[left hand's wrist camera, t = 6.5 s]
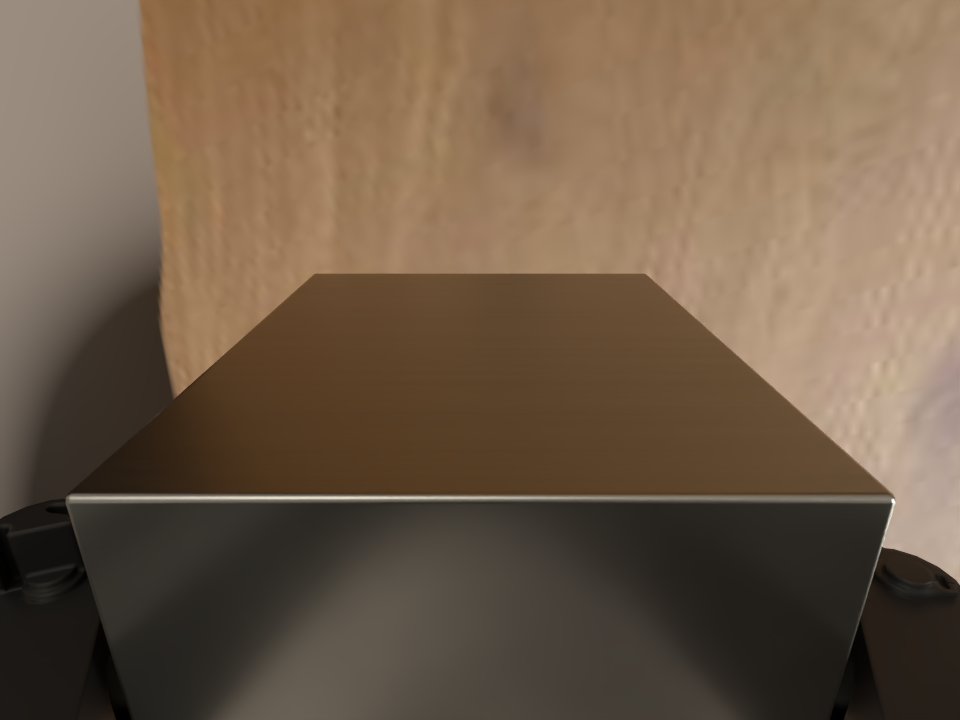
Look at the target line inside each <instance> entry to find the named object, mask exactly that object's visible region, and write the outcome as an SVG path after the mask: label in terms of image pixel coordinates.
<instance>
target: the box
mask: <svg viewBox="0 0 960 720" xmlns="http://www.w3.org/2000/svg"><path fill="white" fill-rule="evenodd" d="M894 505H895V497H894V495H893V494H892V493H891V492H890V491H889V490H888V489H887V488H885V487H884V486H883V485H882V484H881V483H880V482H879V481H878V480H877V479H875V478H874V477H873V476H872V475H871V474H870V473H869V472H868V471H866V470H865V469H864V468H863V467H862V466H861V465H860V464H859V463H857V462H856V461H855V460H854V459H853V458H852V457H851V456H850V455H848V454H847V453H846V452H845V451H844V450H843V449H842V448H841V447H839V446H838V445H837V444H836V443H835V442H834V441H833V440H832V439H830V438H829V437H828V436H827V435H826V434H825V433H824V432H823V431H821V430H820V429H819V428H818V427H817V426H816V425H815V424H814V423H813V422H811V421H810V420H809V419H808V418H807V417H806V416H805V415H804V414H802V413H801V412H800V411H799V410H798V409H797V408H796V407H795V406H793V405H792V404H791V403H790V402H789V401H788V400H787V399H786V398H784V397H783V396H782V395H781V394H780V393H779V392H778V391H777V390H775V389H774V388H773V387H772V386H771V385H770V384H769V383H768V382H766V381H765V380H764V379H763V378H762V377H761V376H760V375H759V374H757V373H756V372H755V371H754V370H753V369H752V368H751V367H750V366H748V365H747V364H746V363H745V362H744V361H743V360H742V359H741V358H740V357H738V356H737V355H736V354H735V353H734V352H733V351H732V350H731V349H729V348H728V347H727V346H726V345H725V344H724V343H723V342H722V341H720V340H719V339H718V338H717V337H716V336H715V335H714V334H713V333H711V332H710V331H709V330H708V329H707V328H706V327H705V326H704V325H702V324H701V323H700V322H699V321H698V320H697V319H696V318H695V317H693V316H692V315H691V314H690V313H689V312H688V311H687V310H686V309H684V308H683V307H682V306H681V305H680V304H679V303H678V302H677V301H675V300H674V299H673V298H672V297H671V296H670V295H669V294H668V293H667V292H665V291H664V290H663V289H662V288H661V287H660V286H659V285H658V284H656V283H655V282H654V281H653V280H652V279H651V278H650V277H649V276H647V275H646V274H314V275H313V276H312V277H311V278H310V279H308V280H307V281H306V282H305V283H304V284H303V285H302V286H301V287H299V288H298V289H297V290H296V291H295V292H294V293H293V294H292V295H290V296H289V297H288V298H287V299H286V300H285V301H284V302H283V303H282V304H280V305H279V306H278V307H277V308H276V309H275V310H274V311H273V312H271V313H270V314H269V315H268V316H267V317H266V318H265V319H264V320H262V321H261V322H260V323H259V324H258V325H257V326H256V327H255V328H253V329H252V330H251V331H250V332H249V333H248V334H247V335H246V336H245V337H243V338H242V339H241V340H240V341H239V342H238V343H237V344H236V345H234V346H233V347H232V348H231V349H230V350H229V351H228V352H227V353H225V354H224V355H223V356H222V357H221V358H220V359H219V360H218V361H217V362H215V363H214V364H213V365H212V366H211V367H210V368H209V369H208V370H206V371H205V372H204V373H203V374H202V375H201V376H200V377H199V378H197V379H196V380H195V381H194V382H193V383H192V384H191V385H190V386H188V387H187V388H186V389H185V390H184V391H183V392H182V393H181V394H180V395H178V396H177V397H176V398H175V399H174V400H173V401H172V402H171V403H169V404H168V405H167V406H166V407H165V408H164V409H163V410H162V411H160V412H159V413H158V414H157V415H156V416H155V417H154V418H153V419H151V420H150V421H149V422H148V423H147V424H146V425H145V426H144V427H143V428H141V429H140V430H139V431H138V432H137V433H136V434H135V435H134V436H132V437H131V438H130V439H129V440H128V441H127V442H126V443H125V444H123V445H122V446H121V447H120V448H119V449H118V450H117V451H116V452H114V453H113V454H112V455H111V456H110V457H109V458H108V459H107V460H106V461H104V462H103V463H102V464H101V465H100V466H99V467H98V468H97V469H95V470H94V471H93V472H92V473H91V474H90V475H89V476H88V477H87V478H85V479H84V480H83V481H82V482H81V483H80V484H79V485H78V486H76V487H75V488H74V489H73V490H72V491H71V492H70V493H69V494H68V495H67V497H66V506H67V509H68V512H69V516H70V519H71V522H72V526H73V529H74V532H75V536H76V539H77V542H78V546H79V549H80V552H81V556H82V559H83V562H84V565H85V569H86V572H87V575H88V579H89V582H90V585H91V589H92V592H93V595H94V599H95V602H96V605H97V609H98V612H99V615H100V619H101V622H102V625H103V629H104V632H105V635H106V638H107V642H108V645H109V648H110V652H111V655H112V658H113V662H114V665H115V668H116V672H117V675H118V678H119V682H120V685H121V688H122V692H123V695H124V698H125V702H126V705H127V708H128V711H129V715H130V718H131V720H830V717H831V714H832V710H833V707H834V704H835V700H836V697H837V694H838V691H839V687H840V684H841V681H842V677H843V674H844V671H845V667H846V664H847V661H848V657H849V654H850V651H851V648H852V644H853V641H854V638H855V634H856V631H857V628H858V624H859V621H860V618H861V614H862V611H863V608H864V605H865V601H866V598H867V595H868V591H869V588H870V585H871V581H872V578H873V575H874V571H875V568H876V565H877V562H878V558H879V555H880V552H881V548H882V545H883V542H884V538H885V535H886V532H887V528H888V525H889V522H890V518H891V515H892V512H893V509H894Z"/></svg>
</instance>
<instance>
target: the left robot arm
mask: <svg viewBox="0 0 960 720" xmlns="http://www.w3.org/2000/svg"><path fill="white" fill-rule="evenodd" d="M0 720H131V718H130V715H129V711H128V708H127V705H126V702H125V698H124V695H123V692H122V688H121V685H120V682H119V678H118V675H117V672H116V668H115V665H114V662H113V658H112V655H111V652H110V648H109V645H108V642H107V638H106V635H105V632H104V629H103V625H102V622H101V619H100V615H99V612H98V609H97V605H96V602H95V599H94V595H93V592H92V589H91V585H90V582H89V579H88V575H87V572H86V569H85V565H84V562H83V559H82V556H81V552H80V549H79V546H78V542H77V539H76V536H75V532H74V529H73V526H72V522H71V519H70V516H69V512H68V509H67V506H66V499H59V500H50V501H46V502H43V503H39V504H35V505H31V506H28V507H25V508H23V509H20V510H18V511H16V512H13V513H11V514H9V515H7V516H4V517H3V518H1V519H0ZM830 720H960V585H959V584H958V582H957V581H956V580H955V579H954V578H952V577H951V576H950V575H948V574H947V573H946V572H944V571H943V570H942V569H940V568H939V567H937V566H935V565H933V564H931V563H929V562H927V561H925V560H923V559H921V558H919V557H917V556H914V555H911V554H908V553H905V552H901V551H898V550H895V549H887V548H883V547H882V548H881V552H880V555H879V558H878V562H877V565H876V568H875V571H874V575H873V578H872V581H871V585H870V588H869V591H868V595H867V598H866V601H865V605H864V608H863V611H862V614H861V618H860V621H859V624H858V628H857V631H856V634H855V638H854V641H853V644H852V648H851V651H850V654H849V657H848V661H847V664H846V667H845V671H844V674H843V677H842V681H841V684H840V687H839V691H838V694H837V697H836V700H835V704H834V707H833V710H832V714H831V717H830Z"/></svg>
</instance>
